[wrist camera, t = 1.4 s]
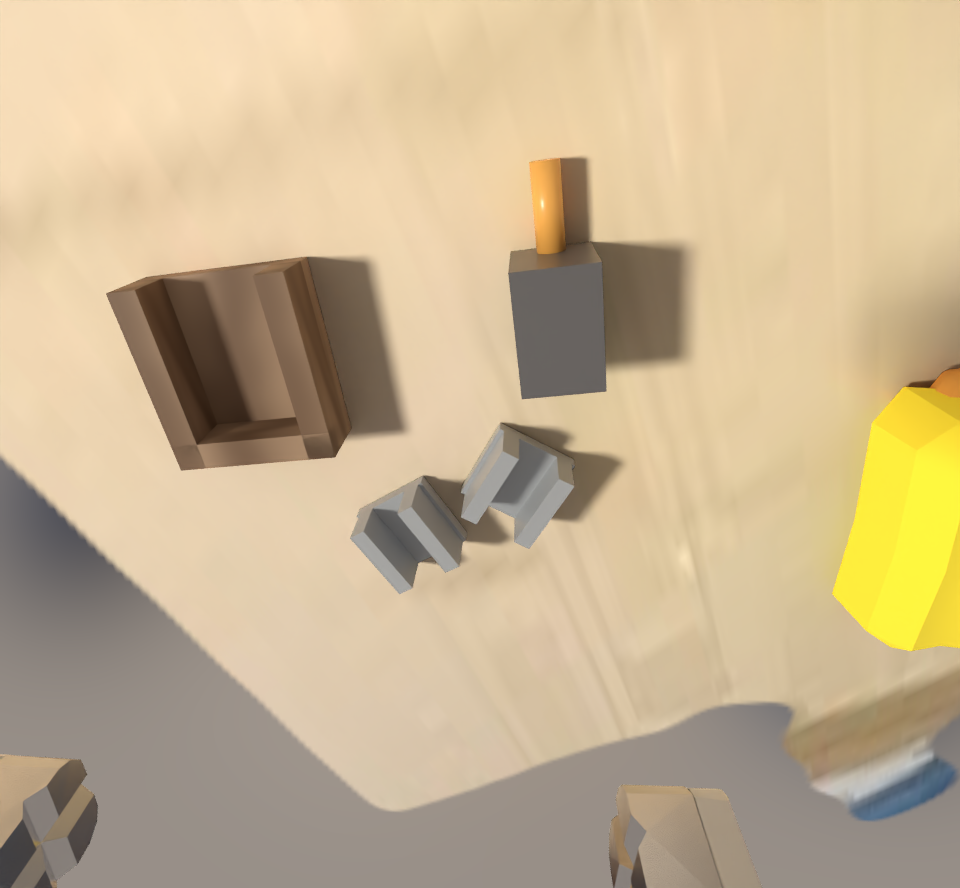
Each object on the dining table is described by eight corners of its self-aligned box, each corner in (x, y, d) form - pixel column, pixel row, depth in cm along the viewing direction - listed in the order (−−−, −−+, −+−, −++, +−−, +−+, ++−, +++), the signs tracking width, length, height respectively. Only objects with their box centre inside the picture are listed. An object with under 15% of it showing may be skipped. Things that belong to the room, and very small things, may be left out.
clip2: (423, 475, 37) (414, 505, 34) (466, 532, 39) (462, 564, 36) (359, 509, 38) (346, 539, 35) (405, 562, 40) (396, 595, 37)
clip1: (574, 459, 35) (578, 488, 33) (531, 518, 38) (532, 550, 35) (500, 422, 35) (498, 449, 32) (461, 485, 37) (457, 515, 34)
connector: (586, 152, 28) (598, 158, 23) (595, 354, 32) (606, 391, 28) (501, 164, 28) (497, 172, 24) (522, 362, 33) (521, 399, 29)
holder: (306, 256, 31) (282, 271, 28) (351, 428, 35) (335, 457, 32) (146, 277, 32) (106, 293, 29) (209, 441, 36) (181, 470, 33)
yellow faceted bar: (1025, 349, 31) (868, 360, 32) (1143, 403, 25) (947, 414, 26) (935, 607, 39) (813, 610, 40) (1008, 692, 34) (863, 694, 34)
